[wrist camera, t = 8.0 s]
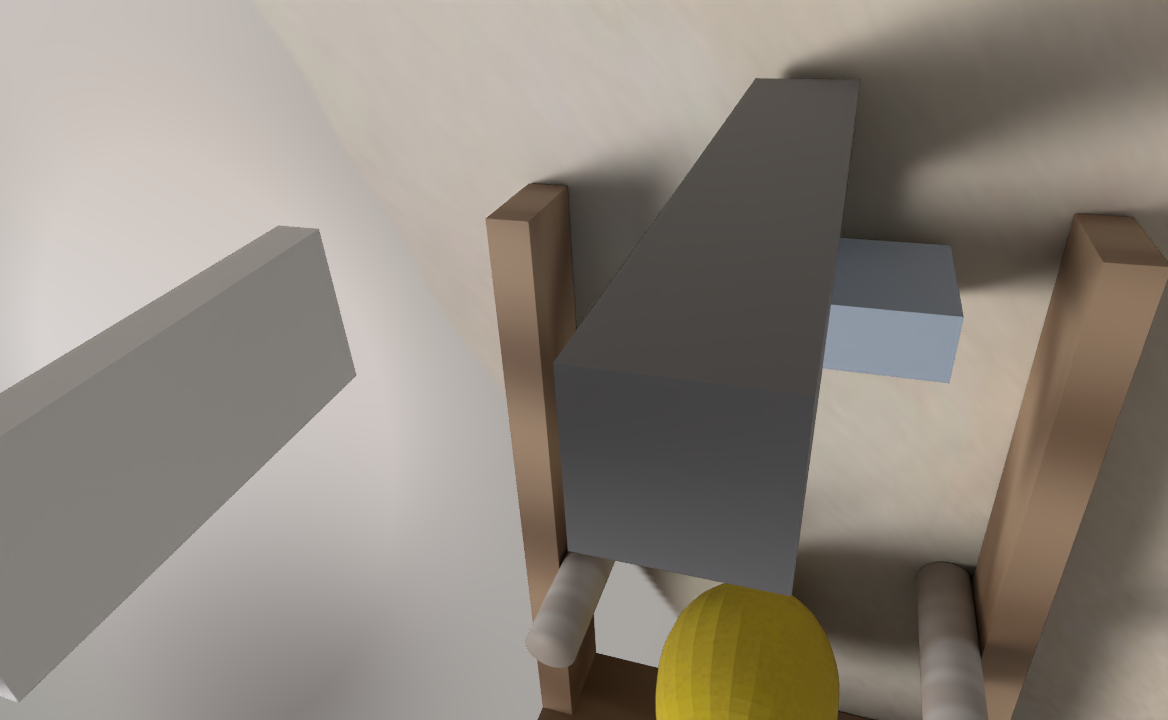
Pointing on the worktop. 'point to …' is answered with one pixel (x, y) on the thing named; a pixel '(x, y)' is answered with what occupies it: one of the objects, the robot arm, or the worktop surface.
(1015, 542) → the lane
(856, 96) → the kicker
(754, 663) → the lemon
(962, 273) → the worktop surface
